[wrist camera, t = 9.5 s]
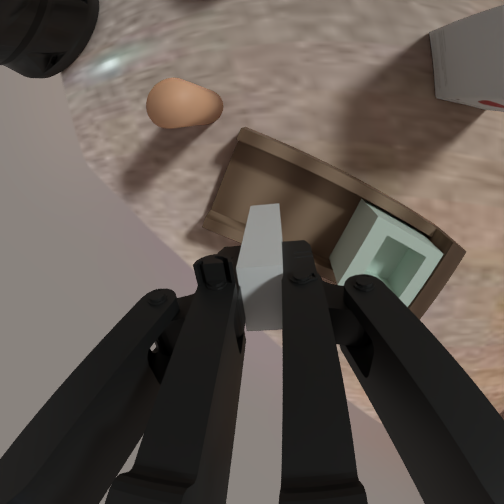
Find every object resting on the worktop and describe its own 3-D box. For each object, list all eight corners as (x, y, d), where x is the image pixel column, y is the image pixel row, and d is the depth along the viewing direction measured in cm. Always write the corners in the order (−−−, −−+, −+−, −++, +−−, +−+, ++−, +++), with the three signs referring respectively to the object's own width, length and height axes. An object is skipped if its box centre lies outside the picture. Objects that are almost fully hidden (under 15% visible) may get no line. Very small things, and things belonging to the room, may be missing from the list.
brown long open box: (210, 215, 35) (192, 242, 27) (245, 127, 30) (235, 129, 23) (392, 293, 37) (411, 330, 30) (435, 224, 32) (466, 251, 25)
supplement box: (433, 99, 26) (517, 101, 12) (427, 31, 22) (501, 0, 9) (487, 112, 25) (570, 126, 12) (482, 49, 21) (560, 39, 8)
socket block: (328, 257, 34) (337, 284, 28) (361, 198, 30) (378, 216, 25) (388, 284, 35) (403, 312, 29) (421, 232, 31) (443, 254, 26)
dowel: (182, 118, 30) (139, 120, 20) (195, 85, 28) (157, 72, 18) (214, 129, 30) (185, 135, 20) (228, 96, 29) (204, 86, 19)
